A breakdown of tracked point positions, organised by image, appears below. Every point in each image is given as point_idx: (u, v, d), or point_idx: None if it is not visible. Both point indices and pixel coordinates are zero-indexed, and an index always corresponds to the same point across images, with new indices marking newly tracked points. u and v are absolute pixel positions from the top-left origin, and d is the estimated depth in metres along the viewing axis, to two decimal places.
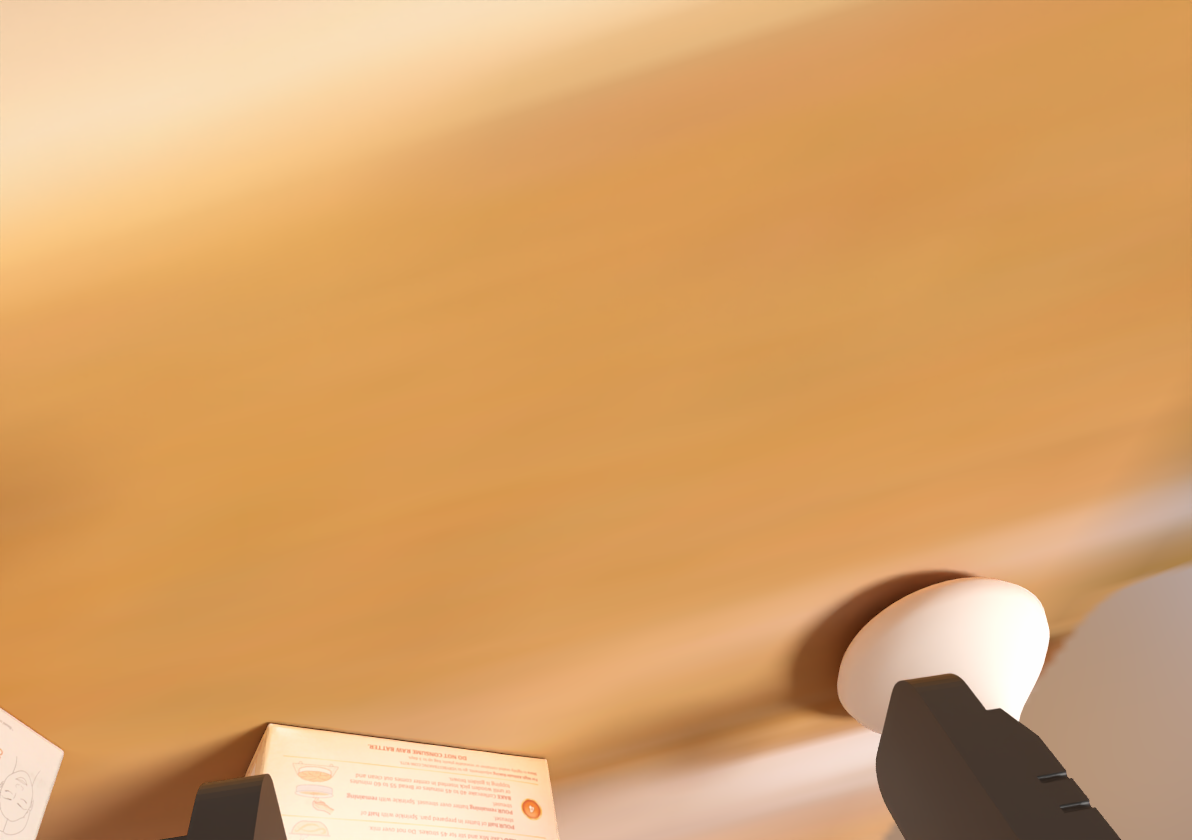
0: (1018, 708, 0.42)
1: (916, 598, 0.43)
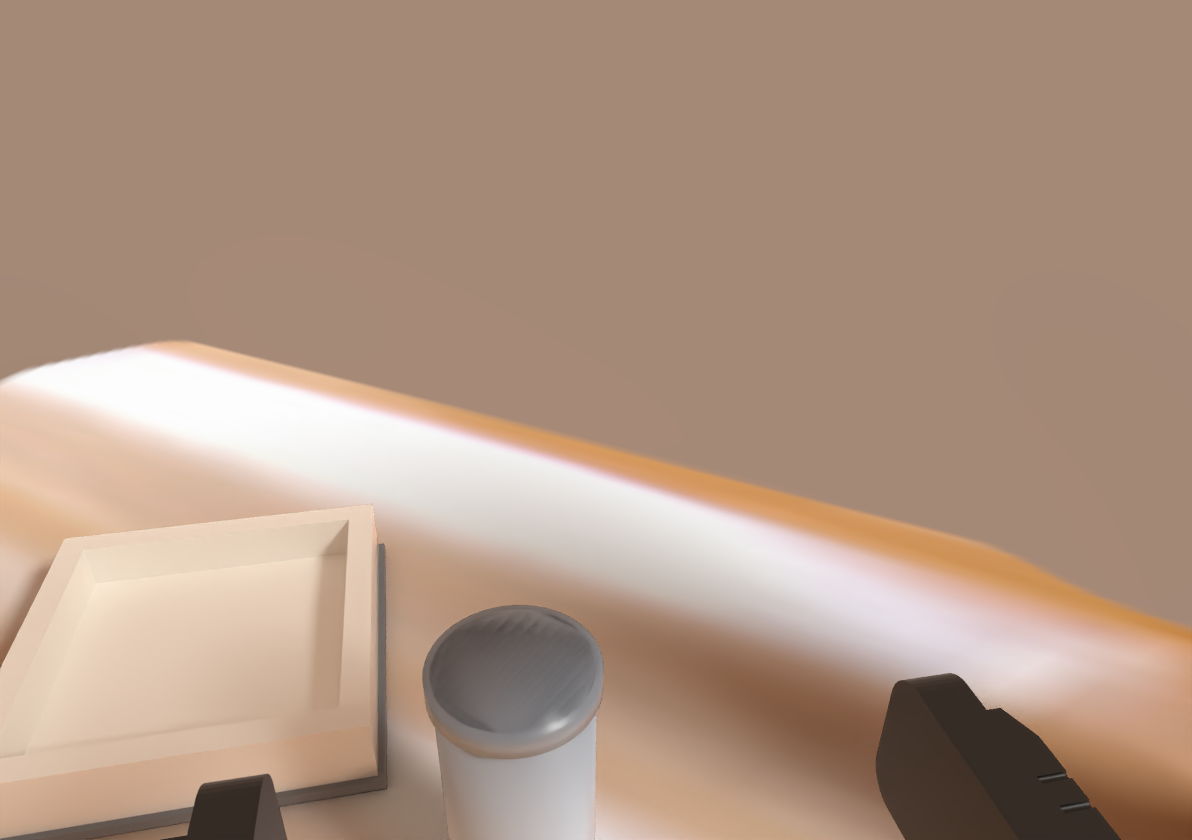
0: None
1: None
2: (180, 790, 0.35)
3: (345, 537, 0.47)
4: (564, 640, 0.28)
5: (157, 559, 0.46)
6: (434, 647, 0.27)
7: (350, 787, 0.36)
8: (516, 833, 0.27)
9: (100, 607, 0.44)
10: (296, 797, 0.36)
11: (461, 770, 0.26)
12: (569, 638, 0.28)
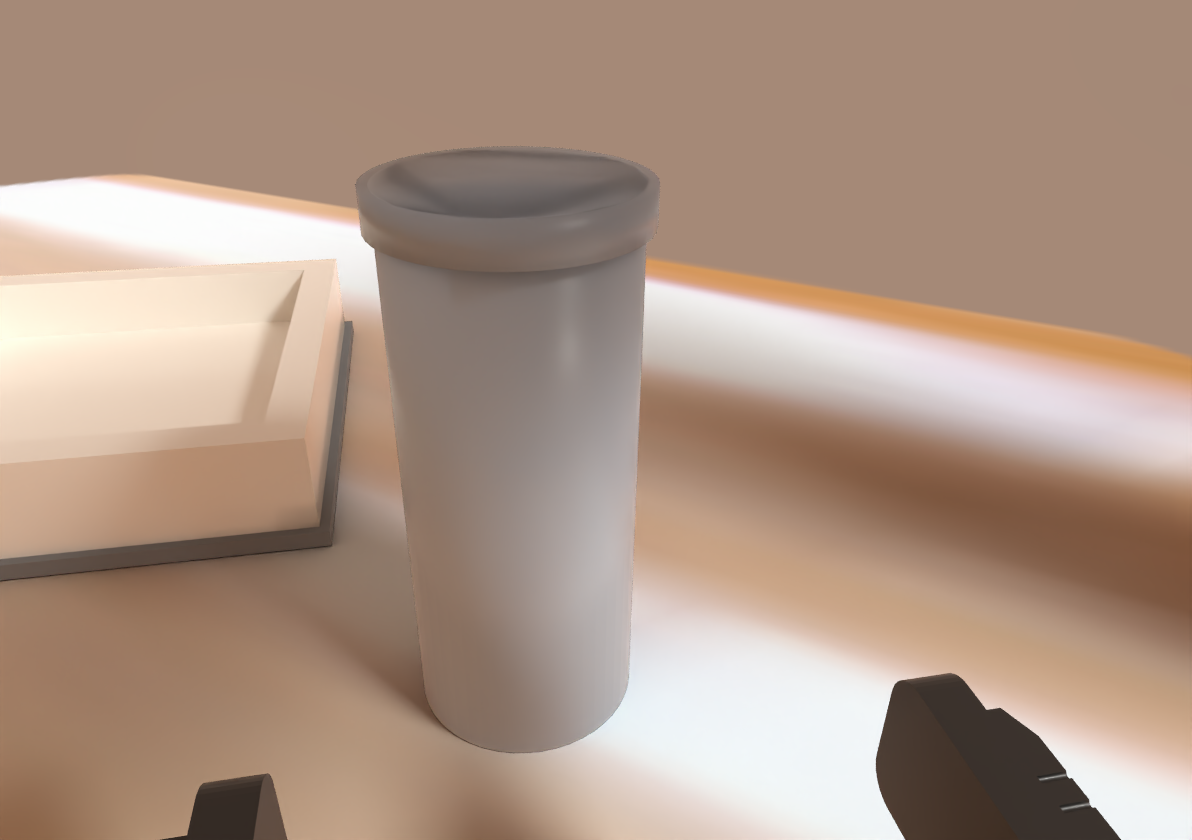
0: None
1: None
2: (30, 524, 0.24)
3: None
4: (593, 165, 0.17)
5: (53, 310, 0.35)
6: (381, 166, 0.17)
7: (279, 539, 0.26)
8: (510, 457, 0.16)
9: None
10: (201, 549, 0.25)
11: (418, 331, 0.15)
12: (601, 164, 0.17)
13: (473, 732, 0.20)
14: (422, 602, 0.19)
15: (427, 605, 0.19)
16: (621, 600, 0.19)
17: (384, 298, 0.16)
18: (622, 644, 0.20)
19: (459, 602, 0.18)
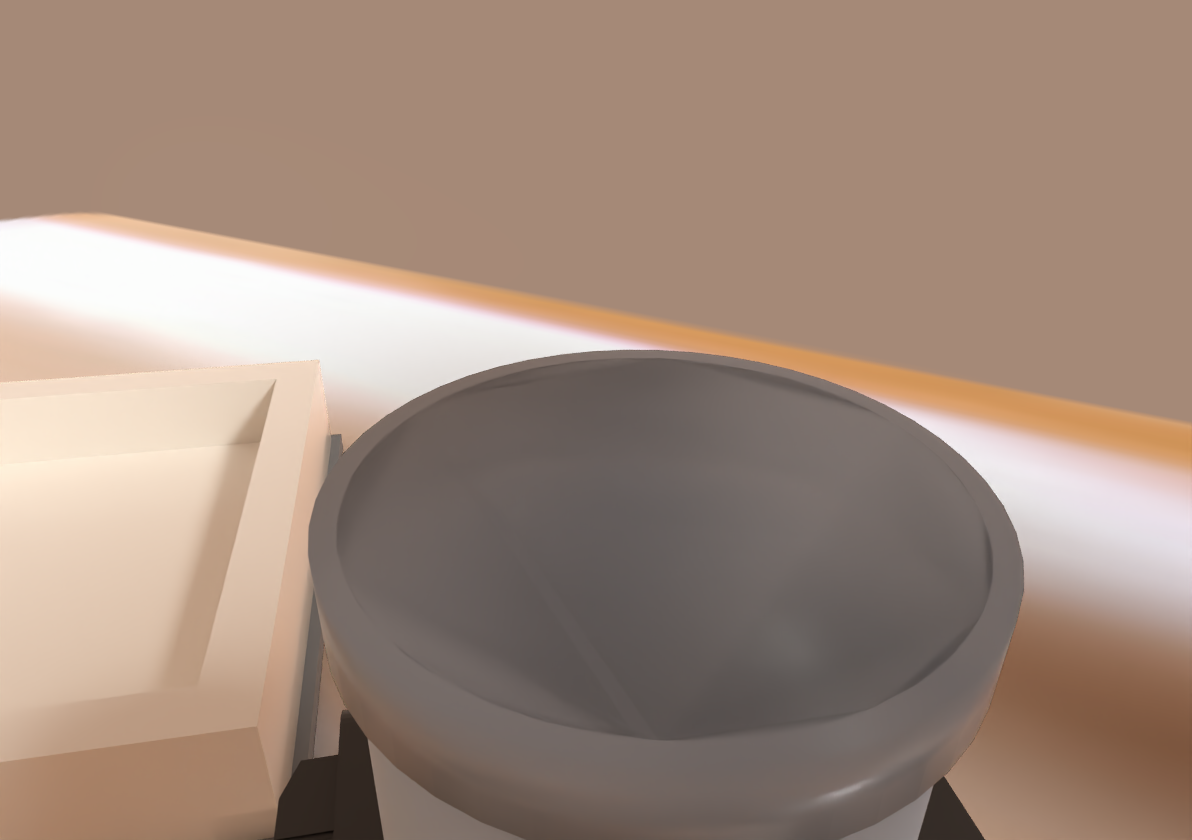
0: None
1: None
2: None
3: None
4: (817, 425, 0.08)
5: None
6: (370, 435, 0.08)
7: None
8: None
9: None
10: None
11: None
12: (832, 422, 0.08)
13: None
14: None
15: None
16: None
17: (377, 770, 0.07)
18: None
19: None
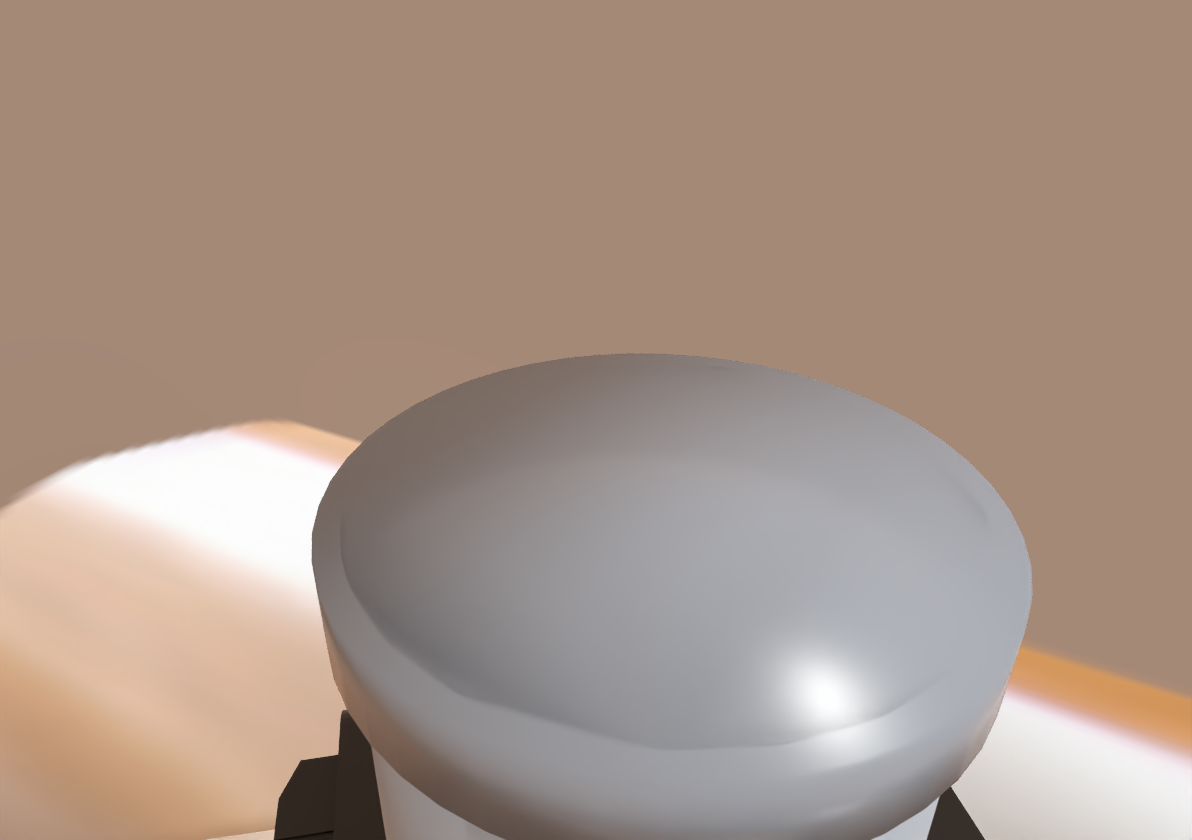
0: None
1: None
2: None
3: None
4: (822, 429, 0.08)
5: None
6: (374, 440, 0.08)
7: None
8: None
9: None
10: None
11: None
12: (837, 427, 0.08)
13: None
14: None
15: None
16: None
17: (381, 778, 0.07)
18: None
19: None
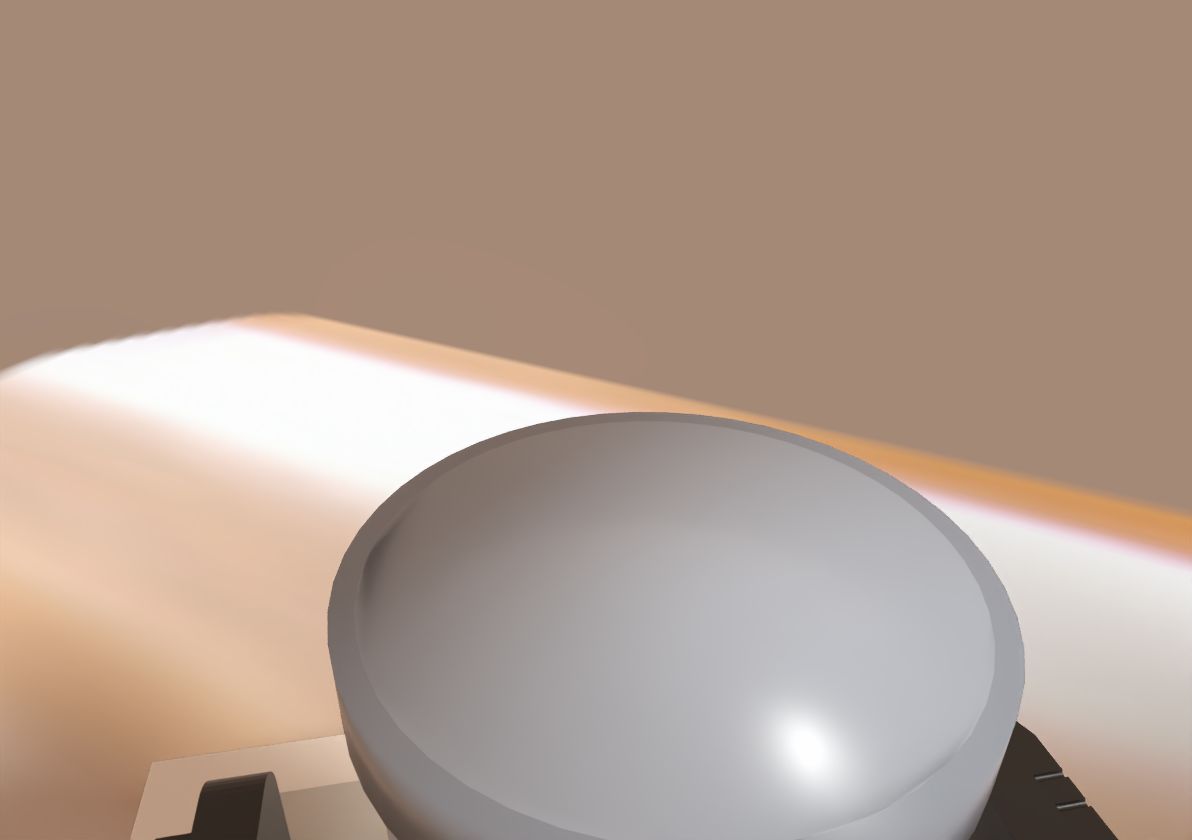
0: None
1: None
2: None
3: None
4: (822, 497, 0.08)
5: None
6: (384, 510, 0.08)
7: None
8: None
9: None
10: None
11: None
12: (838, 493, 0.08)
13: None
14: None
15: None
16: None
17: None
18: None
19: None
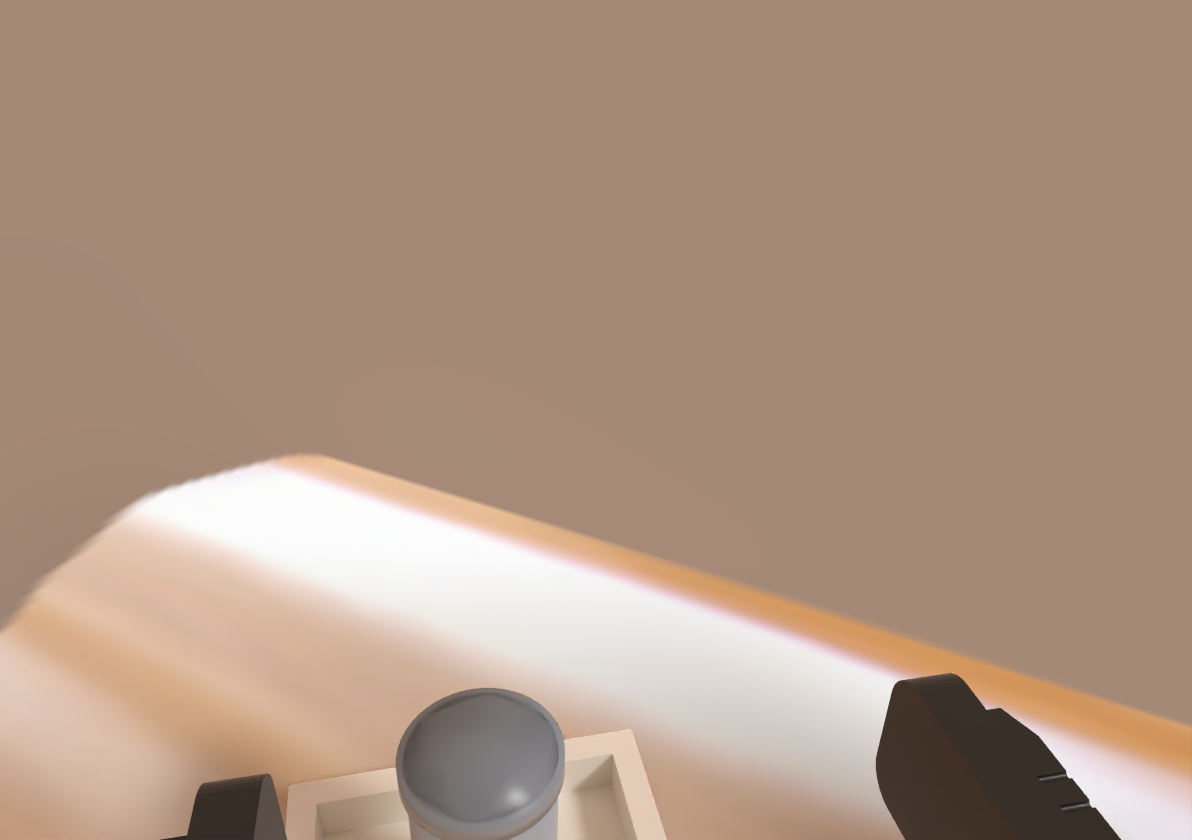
0: None
1: None
2: None
3: (604, 771, 0.41)
4: (529, 725, 0.29)
5: (395, 807, 0.39)
6: (407, 731, 0.29)
7: None
8: None
9: None
10: None
11: None
12: (534, 724, 0.30)
13: None
14: None
15: None
16: None
17: (411, 822, 0.28)
18: None
19: None
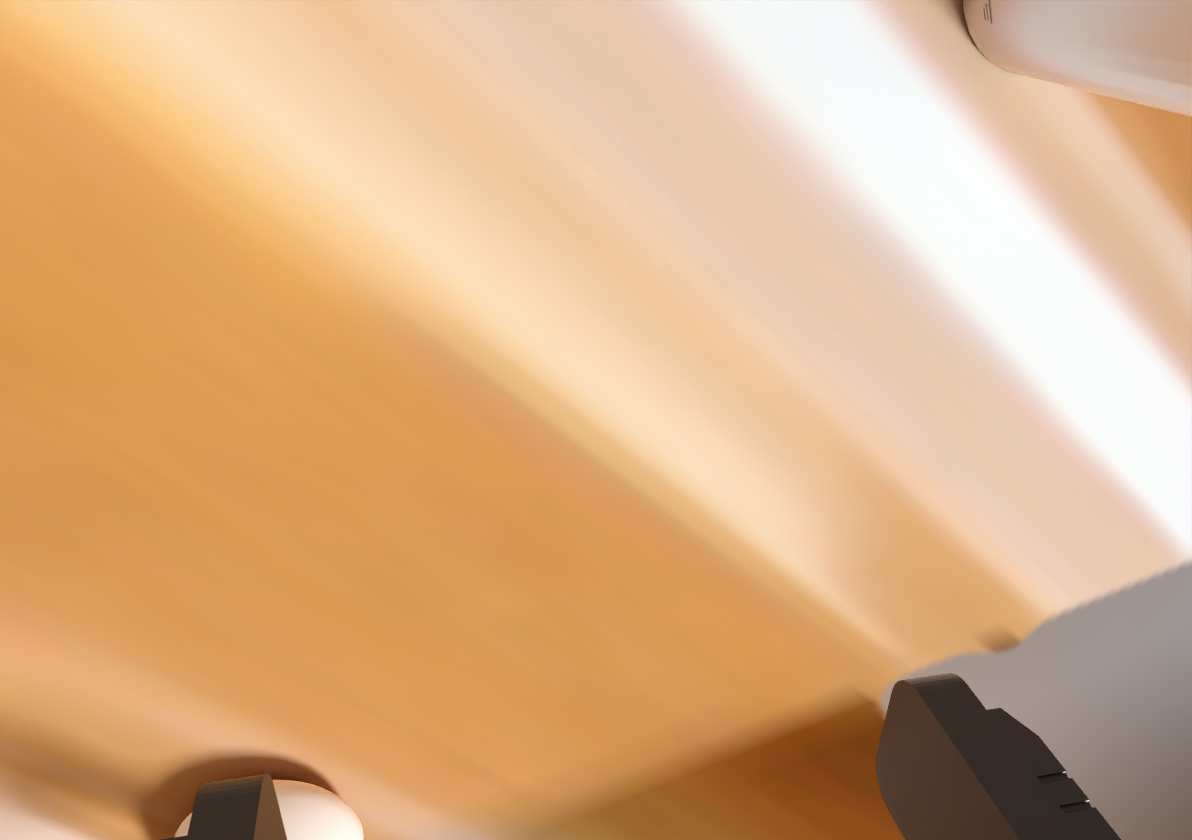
0: None
1: (306, 787, 0.54)
2: None
3: None
4: None
5: None
6: None
7: None
8: None
9: None
10: None
11: None
12: None
13: None
14: None
15: None
16: None
17: None
18: None
19: None
